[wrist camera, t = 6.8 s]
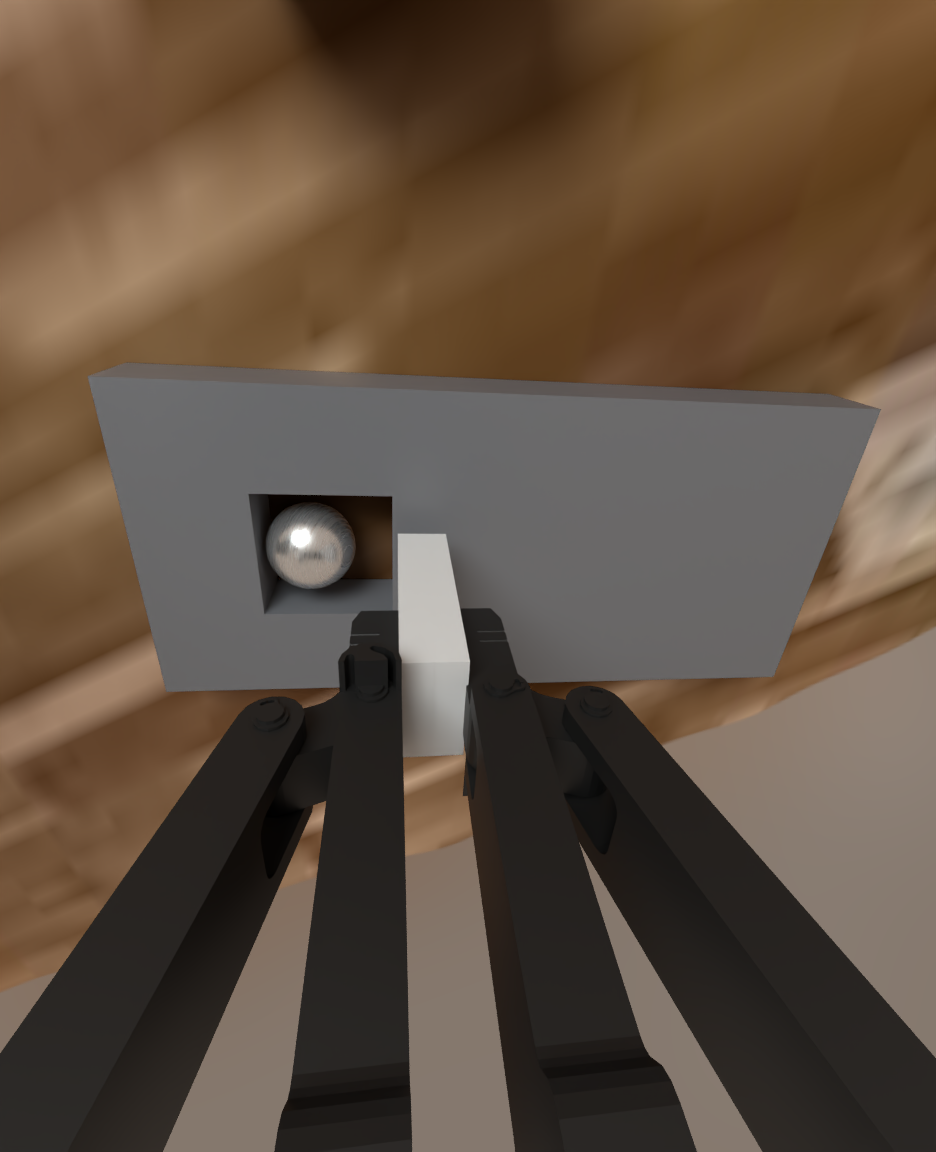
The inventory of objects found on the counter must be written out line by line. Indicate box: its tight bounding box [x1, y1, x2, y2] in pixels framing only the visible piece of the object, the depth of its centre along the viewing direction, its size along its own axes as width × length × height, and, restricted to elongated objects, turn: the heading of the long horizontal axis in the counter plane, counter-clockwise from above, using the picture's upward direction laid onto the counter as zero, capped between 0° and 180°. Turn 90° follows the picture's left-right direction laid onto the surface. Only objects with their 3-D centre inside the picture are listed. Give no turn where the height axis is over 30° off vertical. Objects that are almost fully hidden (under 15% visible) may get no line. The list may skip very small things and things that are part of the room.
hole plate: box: [88, 363, 881, 692], centre depth 20 cm, size 24×11×2 cm, turn 86°
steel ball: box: [266, 502, 356, 589], centre depth 19 cm, size 3×3×3 cm
